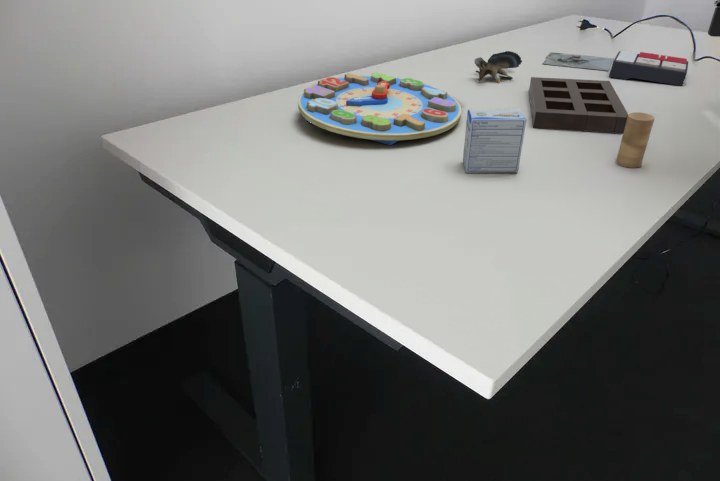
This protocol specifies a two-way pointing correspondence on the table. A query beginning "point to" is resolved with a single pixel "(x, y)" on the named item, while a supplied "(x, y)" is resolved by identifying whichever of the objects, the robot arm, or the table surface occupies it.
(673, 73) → the dual switch box
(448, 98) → the shape sorting clock
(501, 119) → the medicine box
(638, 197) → the table surface
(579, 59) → the grey fossil slab
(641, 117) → the peg
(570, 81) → the brown grid tray
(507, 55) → the squirrel figurine
